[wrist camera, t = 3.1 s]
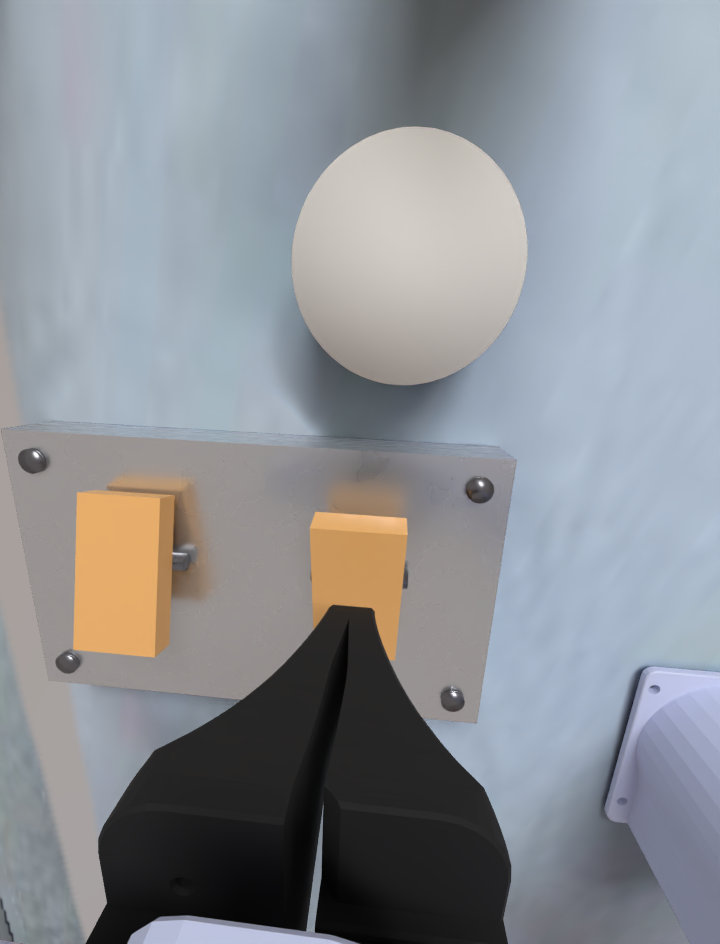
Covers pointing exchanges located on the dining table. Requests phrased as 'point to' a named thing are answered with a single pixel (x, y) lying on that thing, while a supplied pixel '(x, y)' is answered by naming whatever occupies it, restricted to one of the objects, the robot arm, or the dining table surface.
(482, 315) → the white egg-shaped stone
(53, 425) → the breaker panel
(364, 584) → the paddle
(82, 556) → the paddle
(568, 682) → the dining table surface
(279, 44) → the dining table surface
